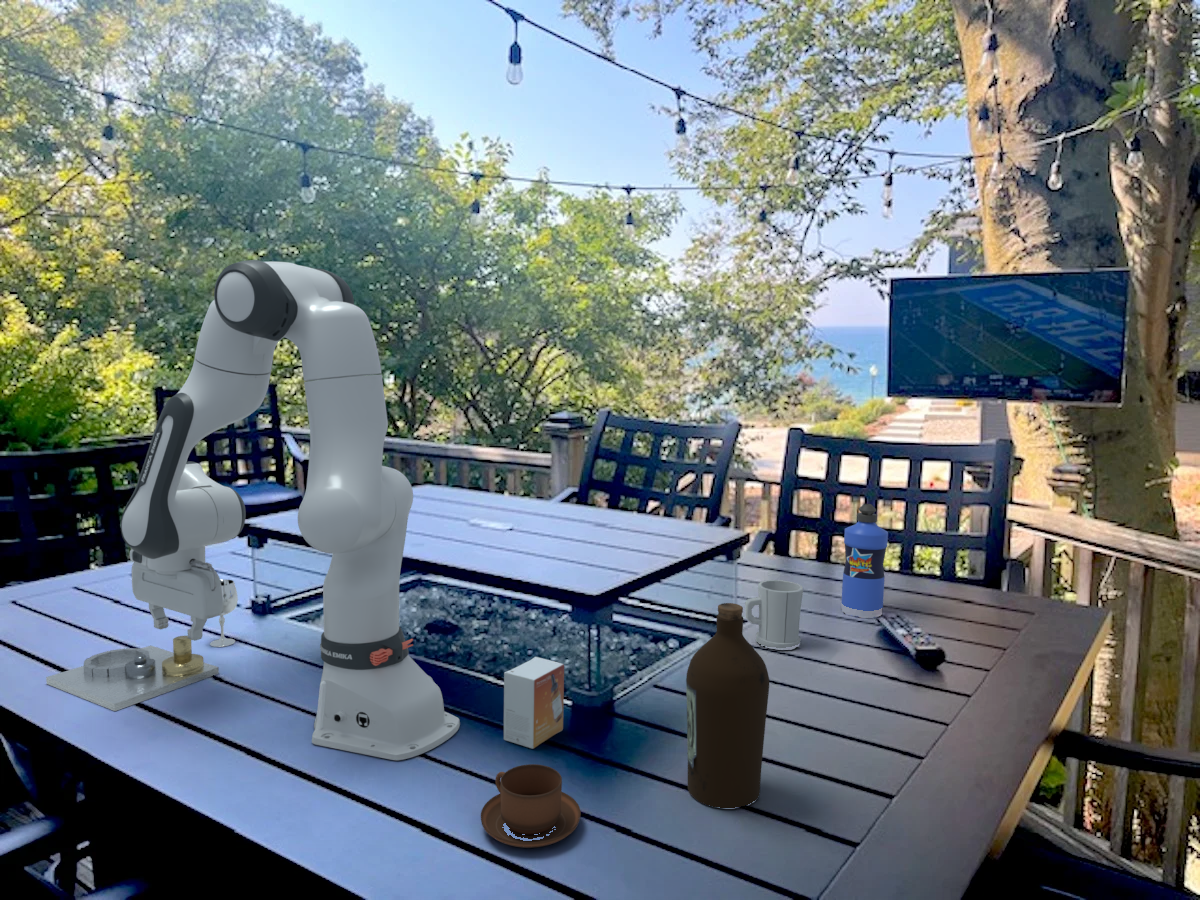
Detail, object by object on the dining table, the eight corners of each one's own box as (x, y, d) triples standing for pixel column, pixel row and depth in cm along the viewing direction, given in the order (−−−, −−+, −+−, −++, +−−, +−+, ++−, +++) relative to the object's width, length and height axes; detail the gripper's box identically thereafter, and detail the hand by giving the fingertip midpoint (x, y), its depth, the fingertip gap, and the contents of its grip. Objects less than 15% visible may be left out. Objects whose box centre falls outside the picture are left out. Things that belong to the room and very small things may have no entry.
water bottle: (848, 603, 190) (853, 499, 187) (888, 611, 185) (894, 504, 182) (834, 613, 183) (840, 504, 180) (875, 621, 177) (882, 509, 174)
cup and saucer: (461, 843, 93) (461, 793, 93) (509, 792, 105) (509, 747, 104) (556, 868, 89) (556, 816, 88) (595, 812, 100) (596, 766, 100)
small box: (532, 750, 116) (533, 680, 114) (502, 740, 119) (502, 671, 117) (564, 729, 122) (565, 663, 121) (534, 720, 125) (535, 655, 124)
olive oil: (763, 774, 110) (771, 597, 107) (765, 817, 100) (774, 622, 97) (685, 766, 112) (691, 592, 109) (679, 808, 101) (686, 616, 99)
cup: (777, 656, 155) (780, 596, 153) (740, 643, 161) (742, 585, 160) (809, 645, 161) (812, 586, 160) (772, 633, 168) (774, 577, 167)
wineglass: (226, 649, 153) (224, 587, 151) (199, 646, 154) (197, 585, 153) (245, 639, 158) (243, 579, 157) (219, 636, 159) (217, 577, 158)
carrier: (218, 673, 141) (218, 649, 141) (114, 711, 126) (113, 684, 125) (150, 651, 151) (149, 628, 150) (46, 683, 135) (45, 658, 135)
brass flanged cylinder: (211, 667, 141) (210, 636, 140) (178, 679, 135) (177, 647, 135) (187, 659, 144) (186, 629, 143) (153, 671, 138) (152, 640, 137)
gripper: (232, 561, 135) (233, 640, 136) (158, 543, 145) (160, 617, 146) (198, 568, 129) (199, 651, 131) (123, 549, 139) (125, 626, 141)
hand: (177, 633), depth 139 cm, fingers open, 8 cm apart
